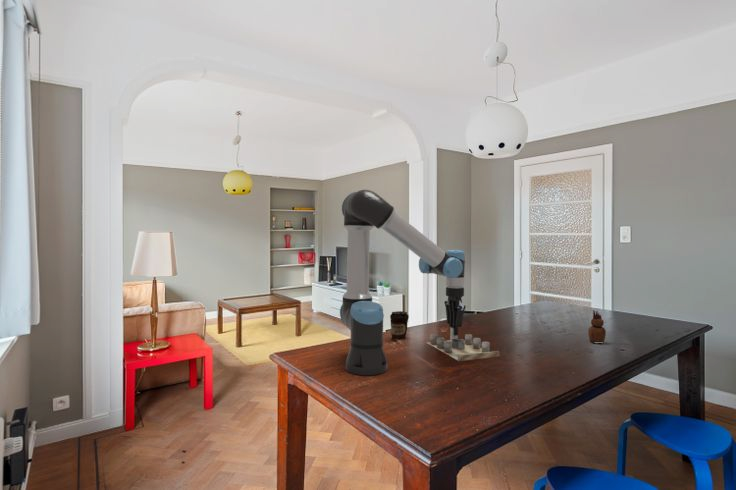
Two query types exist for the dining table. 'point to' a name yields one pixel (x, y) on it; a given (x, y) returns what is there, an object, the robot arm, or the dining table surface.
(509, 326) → the dining table surface
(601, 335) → the wooden figurine
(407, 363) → the dining table surface
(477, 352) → the board
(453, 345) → the nut
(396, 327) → the coffee cup
